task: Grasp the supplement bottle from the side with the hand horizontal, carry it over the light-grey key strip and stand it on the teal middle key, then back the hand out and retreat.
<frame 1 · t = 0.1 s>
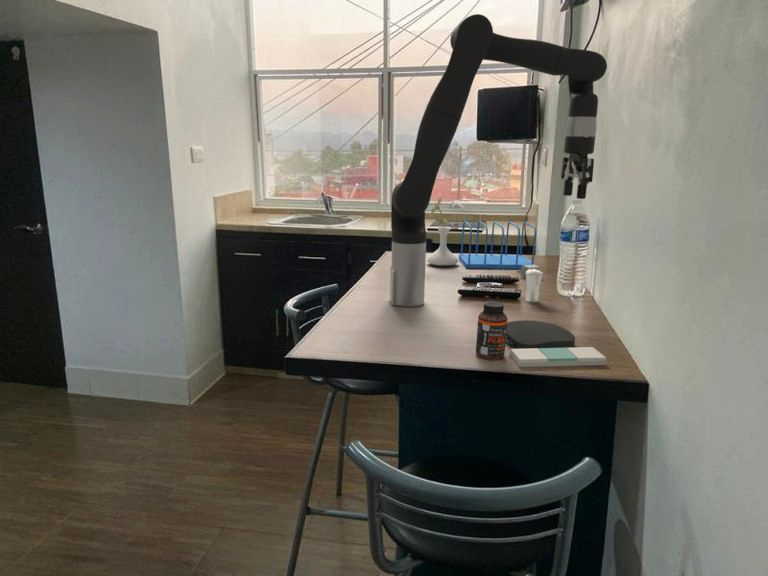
hand: (574, 197, 148), 29 cm above the breakfast bar, tool pointing down, fingers open, 8 cm apart
file sorter: (495, 264, 204), on the breakfast bar
media streaming box: (534, 342, 124), on the breakfast bar
key strip: (556, 360, 112), on the breakfast bar
supplement bottle: (489, 356, 114), on the breakfast bar
flower in vase: (441, 265, 200), on the breakfast bar
milkshake: (533, 301, 155), on the breakfast bar
usb wall charger: (526, 278, 183), on the breakfast bar
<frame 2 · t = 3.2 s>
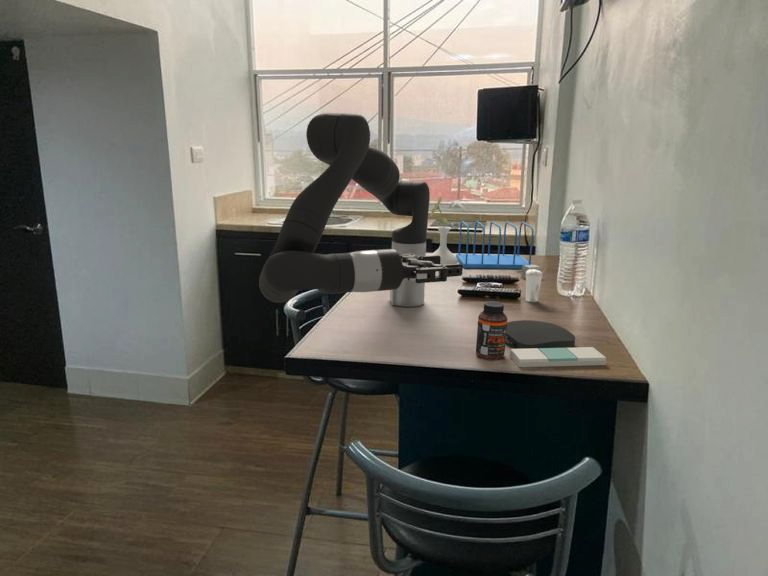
hand: (450, 264, 105), 20 cm above the breakfast bar, tool horizontal, fingers open, 8 cm apart
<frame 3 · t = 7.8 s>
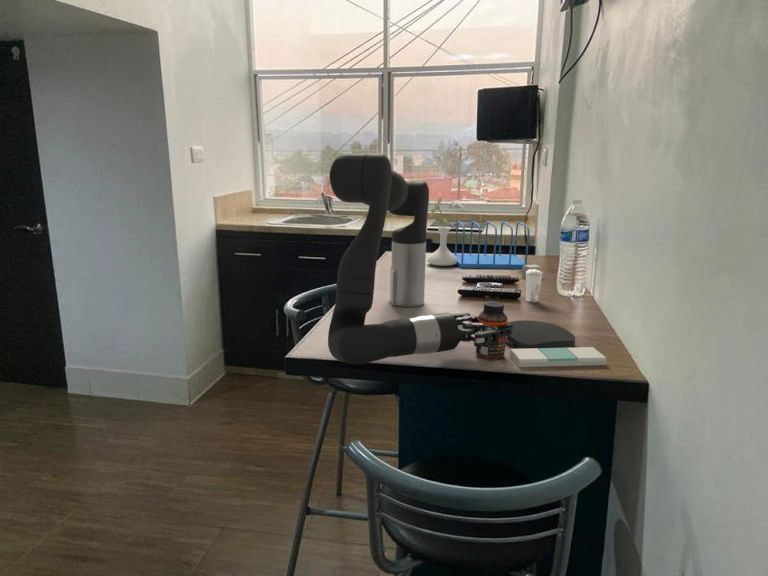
hand: (501, 324, 113), 7 cm above the breakfast bar, tool horizontal, fingers closed on supplement bottle, 6 cm apart
file sorter: (488, 264, 204), on the breakfast bar
supplement bottle: (489, 356, 114), on the breakfast bar, touching gripper
everything else where it was.
when the fingers open (9 cm above the breakfast bar, at t = 12.4 s): supplement bottle stays where it is, resting on key strip.
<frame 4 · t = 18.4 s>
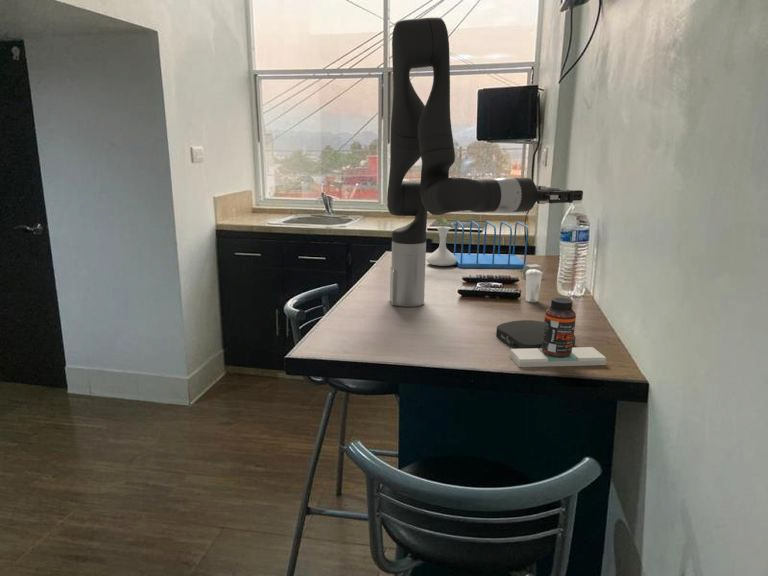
hand: (568, 193, 126), 32 cm above the breakfast bar, tool horizontal, fingers open, 8 cm apart
supplement bottle: (556, 353, 112), point 1 cm above the breakfast bar, touching key strip
at the end: supplement bottle 0.2 cm off-centre on the key strip, point 1.4 cm above the key strip's base; supplement bottle tilted 0°; the gripper is holding nothing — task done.
